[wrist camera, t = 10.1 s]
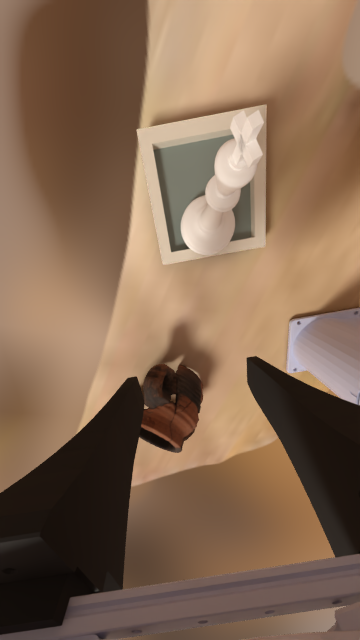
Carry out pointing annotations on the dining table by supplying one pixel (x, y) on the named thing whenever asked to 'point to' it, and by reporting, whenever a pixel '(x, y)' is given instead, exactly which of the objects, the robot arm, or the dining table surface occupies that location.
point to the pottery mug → (170, 406)
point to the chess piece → (223, 188)
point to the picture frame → (199, 180)
